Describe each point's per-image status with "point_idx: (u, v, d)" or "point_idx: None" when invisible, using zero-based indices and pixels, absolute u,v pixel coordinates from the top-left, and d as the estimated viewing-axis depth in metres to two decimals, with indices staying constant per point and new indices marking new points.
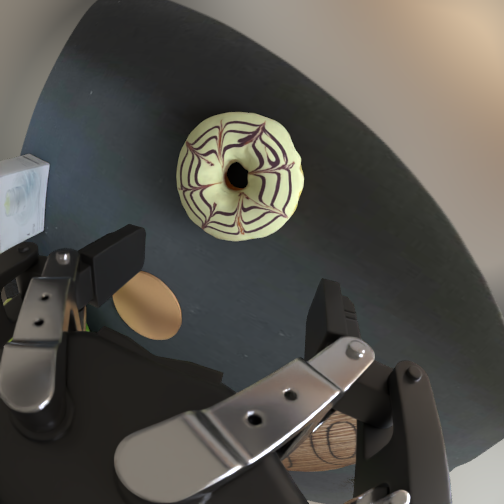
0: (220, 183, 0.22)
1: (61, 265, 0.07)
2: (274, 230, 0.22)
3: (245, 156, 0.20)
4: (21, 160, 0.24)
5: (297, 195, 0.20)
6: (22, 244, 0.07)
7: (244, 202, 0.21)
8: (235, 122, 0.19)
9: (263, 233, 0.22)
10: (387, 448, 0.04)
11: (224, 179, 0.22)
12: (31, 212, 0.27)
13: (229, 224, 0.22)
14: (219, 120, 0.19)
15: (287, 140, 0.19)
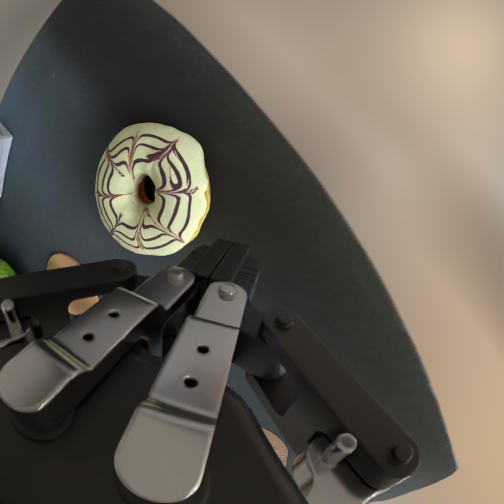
0: (130, 194, 0.20)
1: (165, 285, 0.08)
2: (171, 252, 0.21)
3: (152, 173, 0.18)
4: None
5: (196, 222, 0.19)
6: (118, 262, 0.08)
7: (145, 219, 0.20)
8: (149, 135, 0.17)
9: (160, 252, 0.21)
10: (298, 400, 0.06)
11: (137, 189, 0.21)
12: None
13: (130, 238, 0.20)
14: (136, 131, 0.17)
15: (197, 162, 0.18)
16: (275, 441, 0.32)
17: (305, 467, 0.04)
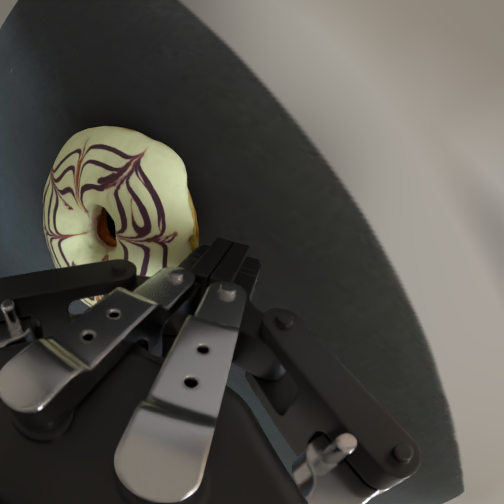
0: (84, 233, 0.13)
1: (166, 285, 0.08)
2: None
3: (108, 206, 0.11)
4: None
5: None
6: (118, 262, 0.08)
7: None
8: (101, 147, 0.10)
9: None
10: (298, 400, 0.06)
11: (96, 225, 0.14)
12: None
13: None
14: (85, 140, 0.10)
15: (174, 190, 0.11)
16: None
17: (305, 467, 0.04)
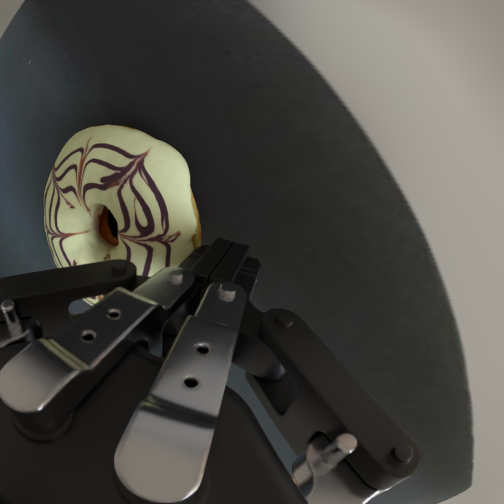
0: (85, 232, 0.13)
1: (166, 285, 0.08)
2: None
3: (110, 206, 0.11)
4: None
5: None
6: (118, 262, 0.08)
7: None
8: (104, 145, 0.10)
9: None
10: (298, 400, 0.06)
11: (97, 224, 0.14)
12: None
13: None
14: (87, 138, 0.10)
15: (178, 189, 0.11)
16: None
17: (305, 467, 0.04)
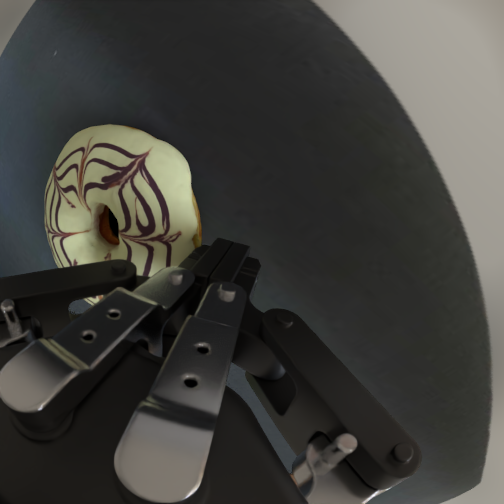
0: (86, 231, 0.13)
1: (166, 285, 0.08)
2: None
3: (111, 205, 0.11)
4: None
5: None
6: (118, 262, 0.08)
7: None
8: (105, 145, 0.10)
9: None
10: (298, 400, 0.06)
11: (98, 223, 0.14)
12: None
13: None
14: (88, 138, 0.10)
15: (179, 189, 0.11)
16: None
17: (305, 467, 0.04)
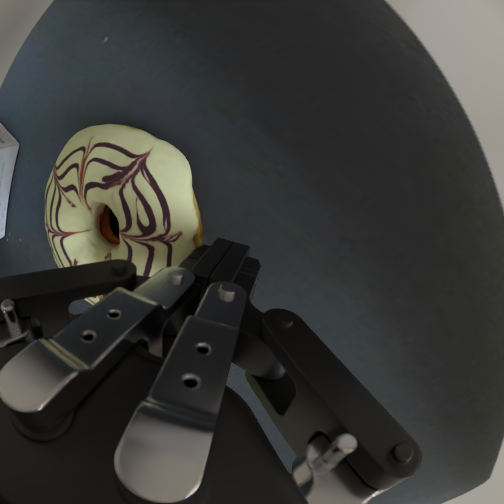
0: (87, 231, 0.13)
1: (166, 285, 0.08)
2: None
3: (112, 205, 0.11)
4: None
5: None
6: (118, 262, 0.08)
7: None
8: (106, 145, 0.10)
9: None
10: (298, 400, 0.06)
11: (98, 223, 0.14)
12: None
13: None
14: (89, 137, 0.10)
15: (180, 189, 0.11)
16: None
17: (305, 467, 0.04)
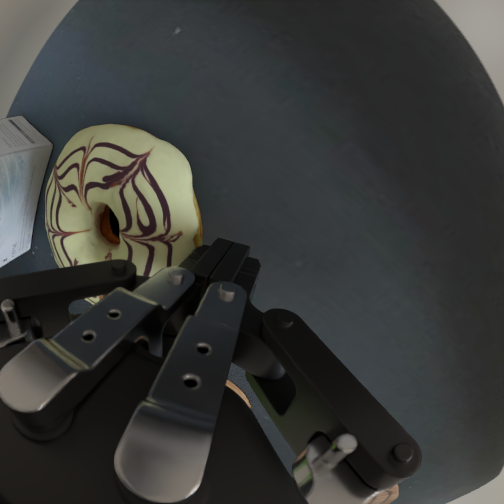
0: (87, 231, 0.13)
1: (166, 285, 0.08)
2: None
3: (112, 205, 0.11)
4: (3, 129, 0.11)
5: None
6: (118, 262, 0.08)
7: None
8: (107, 145, 0.10)
9: None
10: (298, 400, 0.06)
11: (98, 223, 0.14)
12: (11, 228, 0.14)
13: None
14: (89, 137, 0.10)
15: (180, 189, 0.11)
16: (396, 487, 0.24)
17: (305, 467, 0.04)
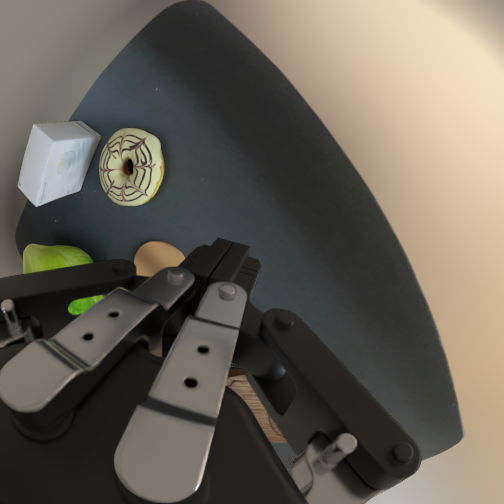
0: (119, 169, 0.33)
1: (165, 285, 0.08)
2: (140, 202, 0.33)
3: (132, 156, 0.31)
4: (76, 127, 0.31)
5: (154, 184, 0.32)
6: (118, 262, 0.08)
7: (127, 183, 0.32)
8: (131, 135, 0.30)
9: (135, 203, 0.33)
10: (298, 400, 0.06)
11: (124, 167, 0.33)
12: (76, 174, 0.34)
13: (118, 194, 0.33)
14: (124, 132, 0.30)
15: (155, 150, 0.31)
16: None
17: (305, 467, 0.04)
